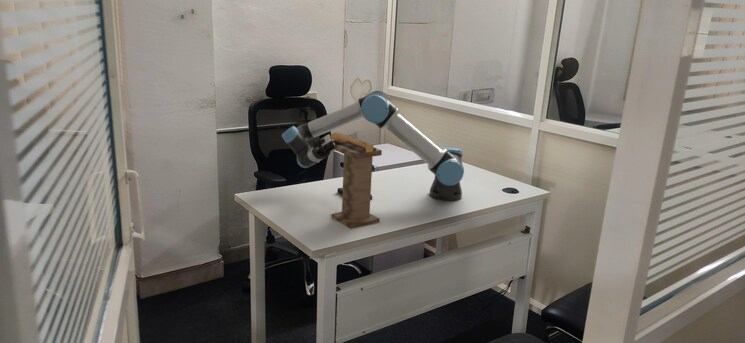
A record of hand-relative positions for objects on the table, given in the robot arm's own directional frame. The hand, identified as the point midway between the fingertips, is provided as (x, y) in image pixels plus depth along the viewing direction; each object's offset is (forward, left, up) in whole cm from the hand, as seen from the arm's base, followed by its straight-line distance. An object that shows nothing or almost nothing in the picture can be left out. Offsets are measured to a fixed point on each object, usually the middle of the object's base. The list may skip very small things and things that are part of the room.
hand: (343, 136), depth 217 cm
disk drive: (-2, -22, -33) cm, 40 cm away
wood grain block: (-4, +4, -3) cm, 6 cm away
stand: (-7, +7, -33) cm, 34 cm away
